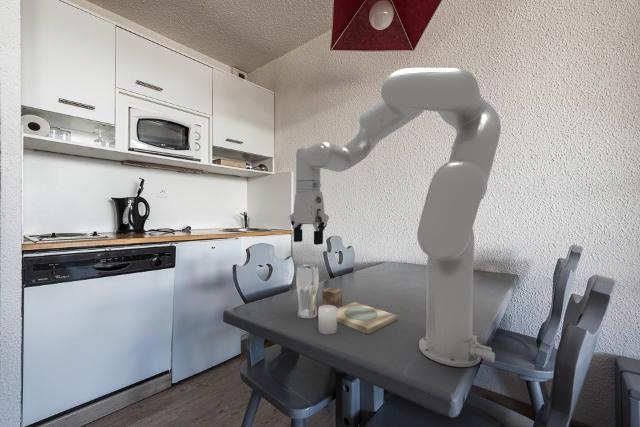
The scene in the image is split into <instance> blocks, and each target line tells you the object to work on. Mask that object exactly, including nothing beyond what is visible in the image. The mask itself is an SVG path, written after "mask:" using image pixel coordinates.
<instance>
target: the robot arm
mask: <svg viewBox="0 0 640 427" xmlns="http://www.w3.org/2000/svg"><path fill="white" fill-rule="evenodd" d="M480 92H481V91H480V86H479V83H478V80H477V79H476V77H475V76H474V74H473V73H472V72H470V71H468V70H466V69H463V68H459V67H458V68H457V67H409V68H408V67H407V68H402V69H401V68H400V69H398V70H395V71H394V72H392V73H391V74H389V75H388V76H387V77H386V78H385V80H384V81H383V83H382V85H381V88H380V95H381V98H382V99H380V101H378V102H377V103H376V104H374V105H373V106H371V107H369V109H368V110H366V111H364V112H363V113H361V115H360V116H359V130H358V133H357V134H356V136H354V137H353V138H352V139H351V140H350V141H349V142H347V143H346V144H344V145H343V146H339V145H336V144H335V143H331V142H329V141H320V142H317V143H315V144H312V145H310V146H309V145H307V146H300V147H298V148H297V149H296V153H295V156H296V157H295V159H296V160H295V165H296V166H295V194H294V201H293V202H294V204H293V213H291V214H290V215H289V219H290V224H291V227H292V228H291V229H292V230H293V242H294V243H302V242H303V229H302V228H303V225H312V226H313V228H314V231H313V244H314V245H315V246H316V245H318V246H319V245H323V244H324V231H325V228H326V227H327V225H328V223H329V222H328V221H329V219H330V216H329V215H327V213H325V202H324V196H323V192H322V191H321V187H322V184H321V169H323V170H329V171H333V172H336V173H338V172H339V173H342V172H344V171H347V170H350V169H351V168H353V167H354V166H356V165H357V164H359V163H361V162H362V161H363V160H364V159H366V158H367V157H368V156H369V155H370V154H371V152H372V151H373V150H374V149H375V147H376V145H377V144H378V143H379V142H381V141H382V140H384V139H386V138H387V137H388V136H389V135H391V134H392V133H395V132H396V131H398V130H399V129H401V128H402V127H404V126H405V125H407V124H408V123H410V122H411V121H414V120H415V119H416V118H417V117H419V116H420V115H422V114H423V113H424V111H430V112H437V113H438V115H439V116H440V117H441V119H442V120H443V121H444V122H445V123H446V124H448V125H450V126H451V127H453V128H454V130H455V132H456V135H455V138H454V141H453V144H452V147H451V151H450V156H449V158H448V161H447V162H445V163H444V164H442V165H441V166H440V167H439V168H437V170H436V171H435V172H434V174H433V176H432V178H431V180H430V183H429V186H428V189H427V192H426V197H425V201H424V203H423V204H424V205H423V207H422V211H421V212H422V213H421V215H420V220H419V222H418V225H417V226H418V228H417V232H416V233H417V234H416V235H417V242H418V246H419V247H420V249H421V251H422V252H423V253H424V254H425V255H426V256H427V261H426V284H425V285H426V286H425V287H426V288H425V289H426V294H425V295H426V297H425V298H426V299H425V300H426V303H425V304H426V309H425V310H426V312H425V313H426V316H425V317H426V320H425V323H426V324H425V325H426V326H425V336H424V337H421V339H420V340H419V342H418V348H419V350H420V352H421V354H423V355H424V356H425V357H427V358H428V359H430V360H432V361H435V362H437V363H439V364H442V365H446V366H450V367H456V368H469V367H470V368H471V367H474V366H477V365H478V364H480V362H481V359H483V361H487V362H489V363H495V359H496V354H495V352H493V351H492V347H490V346H486V345H483V344H480V342H478V335H474V334H473V332H474V331H473V328H474V327H473V326H474V325H473V321H474V319H473V318H474V317H473V316H474V315H473V313H474V312H473V311H474V309H473V305H474V301H473V299H474V296H473V295H474V292H473V291H474V258H475V257H474V256H475V233H474V230H473V228H474V224H475V220H476V217H477V214H478V211H479V208H480V204H481V201H482V200H483V199H484V197H485V196H486V193H487V190H488V181H489V178H490V175H491V171H492V167H493V164H494V161H495V156H496V152H497V148H498V144H499V141H500V136H501V132H502V131H501V127H502V126H501V120H500V117H499V114H498V113H497V111H496V109H495V108H494V107H493V105H491V104H490V103H489V102H488V101H486V100H485V99H484V98H483V97H482V96H481V93H480Z"/></svg>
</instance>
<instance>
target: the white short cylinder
mask: <svg viewBox="0 0 640 427" xmlns="http://www.w3.org/2000/svg"><path fill="white" fill-rule="evenodd" d="M337 308H338V306H337V307H335V306H333V305H322V304H321V305H319V307H318V309H317V316H318V317H317V319H318V324H317V325H318V330H317V331H318V332H319V333H320V334H323V335H333V334H335V333H337V331H338V322H337Z"/></svg>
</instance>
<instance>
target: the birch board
mask: <svg viewBox="0 0 640 427" xmlns="http://www.w3.org/2000/svg"><path fill="white" fill-rule="evenodd" d="M396 321H398V315H397V314H394V313H392V312H388V311H385V310H381V309H379V308H376V307H372V306H369V305H366V304H362V303H359V302H355V301H354V302H351V303H348V304H346V305H343V306H340V307H339V306H338V307H337V323H339V324H342V325H344V326H346V327H348V328H352V329H354V330H356V331H358V332H361V333H363V334H366V335H369V334H371V333H374V332H375V331H378V330H380V329H382V328H384V327H387V326H389V325H390V324H392V323H394V322H396Z"/></svg>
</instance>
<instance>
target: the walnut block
mask: <svg viewBox="0 0 640 427" xmlns="http://www.w3.org/2000/svg"><path fill="white" fill-rule="evenodd" d="M321 296H322V298H321V306H322V305H333V306H335V307H337V308H338V307H339V306H340V305H342V304H343V289H341V288H335V287H331V286H330V287H327V288H325V289H323V290H322V291H321ZM338 305H339V306H338Z"/></svg>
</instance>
